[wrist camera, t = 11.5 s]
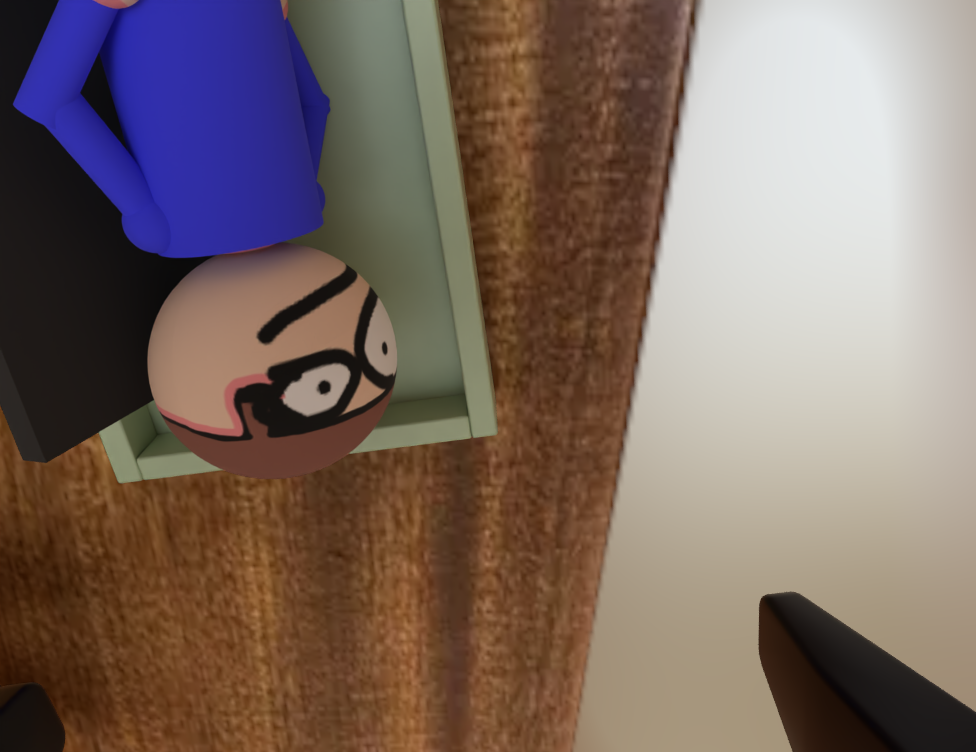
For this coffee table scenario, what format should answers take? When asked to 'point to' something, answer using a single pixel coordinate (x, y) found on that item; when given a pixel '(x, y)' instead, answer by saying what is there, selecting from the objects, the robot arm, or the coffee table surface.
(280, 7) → the character figurine
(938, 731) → the robot arm
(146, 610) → the coffee table surface
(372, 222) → the tray
